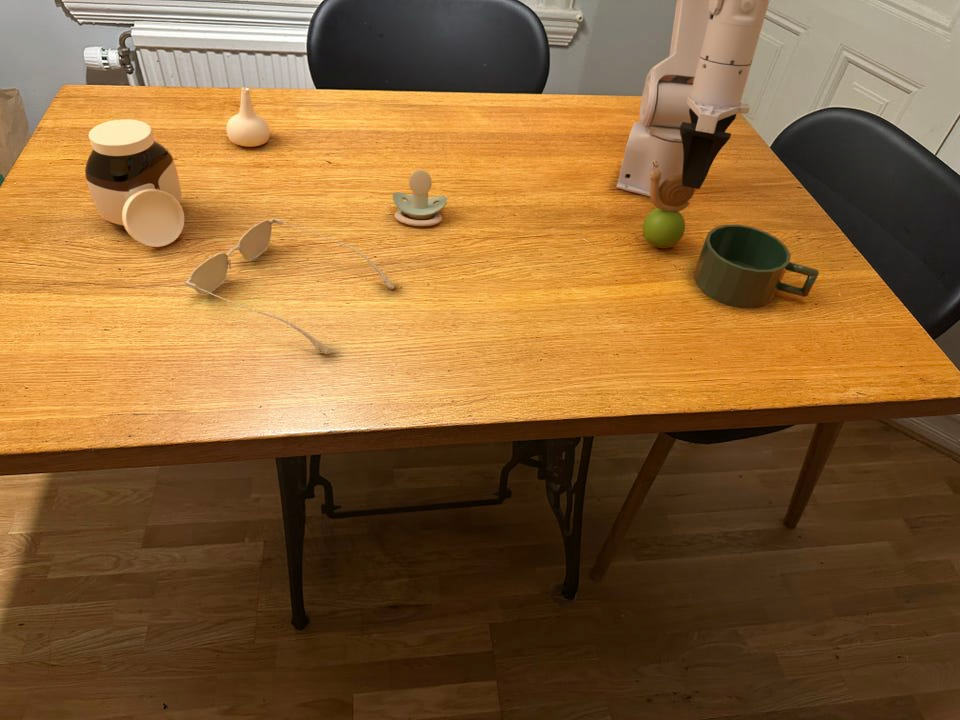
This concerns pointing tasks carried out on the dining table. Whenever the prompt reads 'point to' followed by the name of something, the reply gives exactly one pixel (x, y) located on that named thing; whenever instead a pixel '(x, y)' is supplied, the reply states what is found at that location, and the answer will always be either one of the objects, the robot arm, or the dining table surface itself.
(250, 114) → the garlic bulb
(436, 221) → the pacifier
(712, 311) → the dining table surface
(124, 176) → the spread jar
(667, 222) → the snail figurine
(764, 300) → the green mug
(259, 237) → the eyeglasses
